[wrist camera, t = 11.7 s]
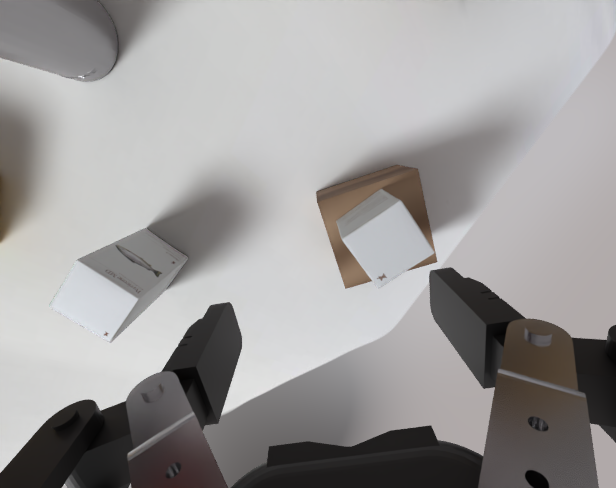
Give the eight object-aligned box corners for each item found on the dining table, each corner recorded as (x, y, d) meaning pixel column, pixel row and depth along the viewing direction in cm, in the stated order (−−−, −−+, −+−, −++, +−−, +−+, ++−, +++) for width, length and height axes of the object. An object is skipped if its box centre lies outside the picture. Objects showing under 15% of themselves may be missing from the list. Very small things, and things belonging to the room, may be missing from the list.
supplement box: (190, 256, 42) (141, 300, 30) (164, 291, 43) (109, 346, 31) (145, 225, 40) (75, 258, 28) (121, 263, 42) (45, 308, 30)
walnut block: (316, 191, 39) (317, 202, 31) (396, 164, 37) (417, 168, 30) (339, 263, 42) (345, 288, 34) (413, 240, 41) (437, 262, 33)
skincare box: (410, 231, 32) (437, 254, 25) (364, 261, 33) (377, 291, 26) (381, 186, 30) (401, 198, 23) (333, 219, 32) (340, 240, 25)
